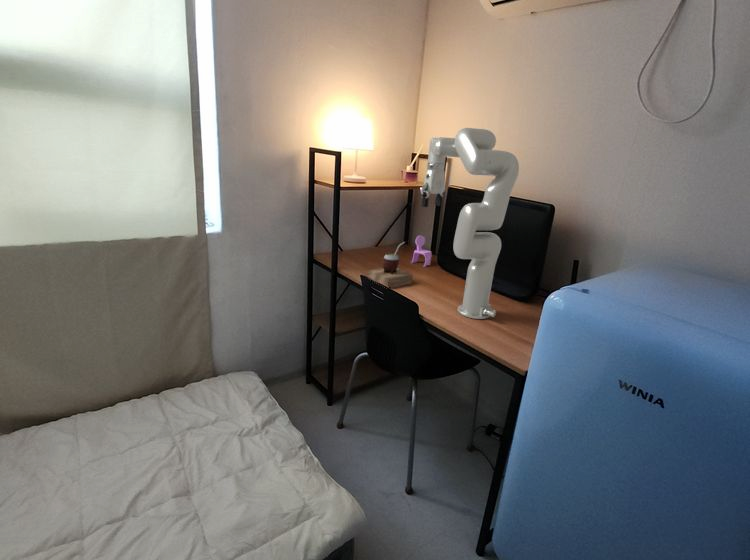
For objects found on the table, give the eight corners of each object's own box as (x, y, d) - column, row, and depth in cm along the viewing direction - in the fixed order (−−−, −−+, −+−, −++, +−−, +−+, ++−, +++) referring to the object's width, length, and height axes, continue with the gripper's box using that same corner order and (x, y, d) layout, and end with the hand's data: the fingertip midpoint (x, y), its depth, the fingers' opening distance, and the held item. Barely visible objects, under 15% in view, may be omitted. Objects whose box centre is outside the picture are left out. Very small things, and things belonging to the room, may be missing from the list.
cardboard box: (411, 285, 186) (412, 274, 185) (387, 290, 178) (388, 279, 176) (391, 276, 197) (392, 266, 195) (368, 280, 188) (369, 269, 187)
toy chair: (423, 267, 211) (426, 239, 206) (409, 263, 217) (412, 235, 212) (432, 264, 217) (435, 237, 213) (418, 260, 223) (421, 233, 218)
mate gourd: (380, 269, 188) (383, 237, 183) (396, 269, 190) (399, 238, 186) (385, 274, 181) (388, 241, 176) (402, 274, 183) (405, 241, 179)
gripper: (430, 168, 173) (425, 208, 178) (454, 168, 184) (449, 206, 190) (416, 166, 177) (412, 206, 183) (440, 166, 189) (436, 203, 195)
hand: (431, 206), depth 186 cm, fingers open, 9 cm apart
